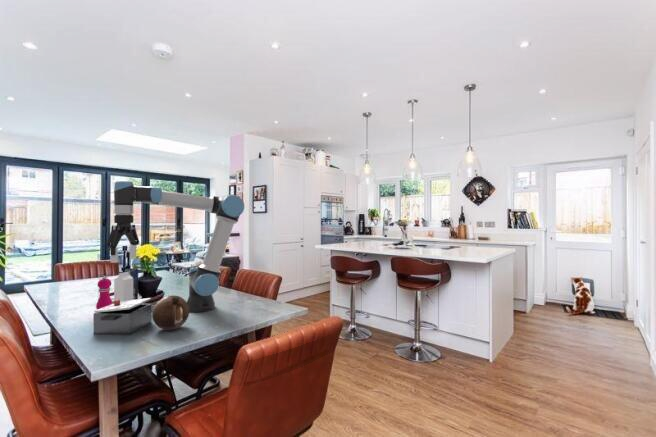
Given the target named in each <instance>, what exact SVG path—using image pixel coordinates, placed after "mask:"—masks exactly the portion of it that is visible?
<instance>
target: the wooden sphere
mask: <svg viewBox="0 0 656 437" xmlns="http://www.w3.org/2000/svg"><path fill="white" fill-rule="evenodd" d="M189 316H190V312H189V306H188V304H187V301H186V300H185V299H184V298H183V297H181V296H179V295H168V296H164V297H162V298H161V299H159V300H158V301H157V303H155V306H153V309H152V313H151V317H152V320H153V323H154V324H155V325H156V326H157V327H158V328H159V329H161V330H165V331H172V330H176V329H179V328H180V327H181V326H183V325H184V324H185V323H186V321H187V320H188V318H189Z"/></svg>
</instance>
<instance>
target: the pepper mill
mask: <svg viewBox="0 0 656 437" xmlns="http://www.w3.org/2000/svg"><path fill="white" fill-rule="evenodd" d="M111 286H112V280H111V279H109V278H107V276H106V275H103V276H102V278H101V279H99V280H98V282H97V287H98V292H99V297H98V300H97V303H96V306H95V310H98V309H101V308H103V307H106V306H108V305H111V304H114V301H113V300H112V299H111V295H110V291H111Z"/></svg>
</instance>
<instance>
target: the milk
mask: <svg viewBox="0 0 656 437" xmlns="http://www.w3.org/2000/svg"><path fill="white" fill-rule="evenodd" d="M113 281H114V283H113V285H114V286H113V287H114V288H113V290H114V291H113V292H114V294H113V296H114V300H113V302H114V301H115V300H120V301H125V300H134V277H133V276H132V275H130V274H129V271H126V272H125V271H124V272H121V273H118V276H117V277H116V278H114V280H113Z"/></svg>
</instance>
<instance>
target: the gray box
mask: <svg viewBox="0 0 656 437" xmlns="http://www.w3.org/2000/svg"><path fill="white" fill-rule="evenodd" d="M150 324H152V304H151V303H143V304H140V305H138V306H136V307H134V308H131V309H127V310H117V311H107V312H97V313H95V312H94V313H93V335H112V336H113V335H114V336H115V335H121V336H123V335H124V336H125V335H126V336H130V335H132V334H134V333H135V332H138V331H139V330H141V329H143V328H145V327H147V326H148V325H150Z"/></svg>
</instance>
